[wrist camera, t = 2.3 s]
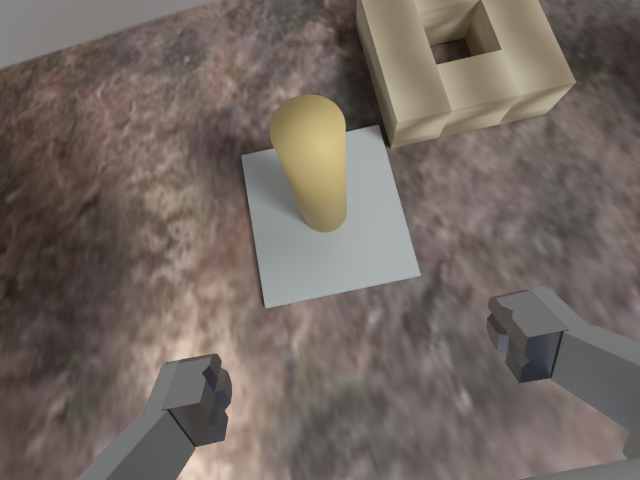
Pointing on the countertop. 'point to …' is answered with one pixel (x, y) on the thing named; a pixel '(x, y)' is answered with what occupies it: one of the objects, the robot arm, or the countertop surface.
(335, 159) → the peg
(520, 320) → the robot arm
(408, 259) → the mat
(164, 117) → the countertop surface
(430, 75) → the hole block
